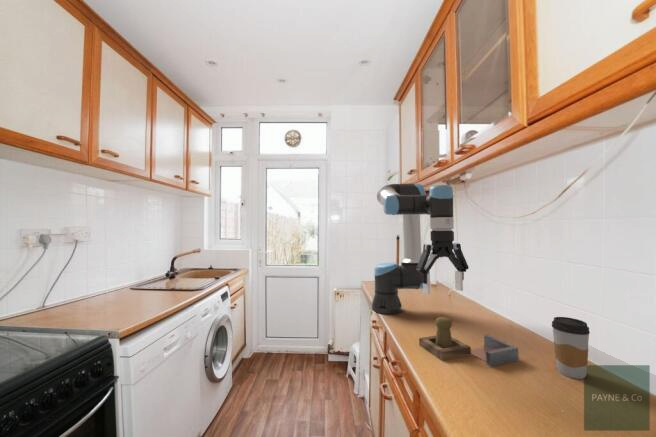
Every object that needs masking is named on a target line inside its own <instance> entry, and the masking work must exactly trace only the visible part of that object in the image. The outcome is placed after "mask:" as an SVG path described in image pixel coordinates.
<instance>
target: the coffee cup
mask: <svg viewBox="0 0 656 437" xmlns="http://www.w3.org/2000/svg"><path fill="white" fill-rule="evenodd" d="M551 327H552V333H553V347H554V357H555V361H556V369H557V370H558V372H559V373H560V374H562V375H563V376H565V377H568V378H571V379H577V380H583V378H584V379H585V377H587V370H588V369H587V368H588V362H589V361H588V360H589V338H590V337H589V336H590V327H589V326H588V324H587V322H586V321H583V320H581V319H577V318H572V317H568V316H566V317H565V316H554V317H553V320H552V322H551Z"/></svg>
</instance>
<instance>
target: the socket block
mask: <svg viewBox="0 0 656 437" xmlns="http://www.w3.org/2000/svg"><path fill="white" fill-rule="evenodd" d="M451 338H452V344H453V347H449V348H443V349H442V348H441V347H439V346H437V345H436V344H435V342H436V335H430V336H423V337H419V339H418V342H419V347H422V349H424V350H426V352H429V353H430V354H431V355H433V356H435V357H436V358H437V359H439V360H441V361H446V360H452V359H456V358H457V359H458V358H461V357H466V356H472V354H471V348H472V347H471V346H470V345H468V344H466V343H464V342H462V341H460V340H458V339H457V338H454V337H453V336H451Z"/></svg>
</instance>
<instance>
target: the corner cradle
mask: <svg viewBox="0 0 656 437" xmlns="http://www.w3.org/2000/svg"><path fill="white" fill-rule="evenodd" d="M483 345H484V346H482V347H477V348H473V349H471V356H474V357H476V358H477V359H479V360H481V361H482V362H485V364H486V365H487V366H488V367H490V368H492V367H496V366H501V365H505V364H510V363H514V362H515V363H516V362H519V361H520V358H519V347H516V346H515V345H512V344H510V343H508V342H506V341H503V340H501V339H499V338H497V337H494V336H492V335H489V334H484V335H483Z"/></svg>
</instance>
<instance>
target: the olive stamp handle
mask: <svg viewBox="0 0 656 437" xmlns="http://www.w3.org/2000/svg"><path fill="white" fill-rule="evenodd" d="M435 326H436V327H437V328H436V342H435V344H436V345H437V346H439V347H441V348H442V349H443V348H449V347H453V344H452V338H451V337H452V333H451V328H452V327H453V322H452V320H451V319H450V318H449V317H446V316H438V317H437V318H436V319H435Z"/></svg>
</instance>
